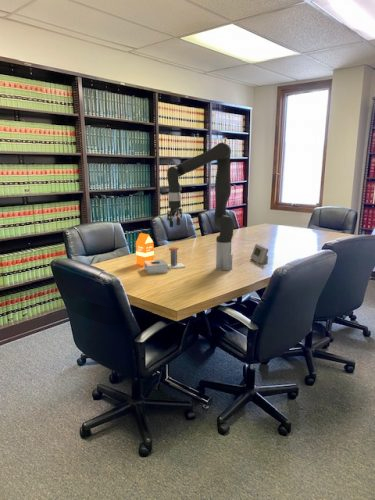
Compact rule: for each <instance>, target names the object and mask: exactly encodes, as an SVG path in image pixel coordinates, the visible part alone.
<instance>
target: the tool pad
mask: <svg viewBox="0 0 375 500" xmlns="http://www.w3.org/2000/svg"><path fill="white" fill-rule="evenodd" d="M167 264H168V269H169V270H173V269H181V268H183V269H184V268H186V265H184V264H183V263H182V262H179V263H178V262H177V265H176V266H171V263H167Z"/></svg>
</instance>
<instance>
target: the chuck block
mask: <svg viewBox="0 0 375 500" xmlns="http://www.w3.org/2000/svg"><path fill="white" fill-rule="evenodd" d="M168 264H169V263H167V262H166V261H165V260H164V259H156V260H155V259H154V260H152V261H144V266H143V267H144V268H143V269H144V270H145V272H146V274H147V275H154V274H155V275H156V274H165V273H166V274H167V273H168V272H169V270H168V269H169V268H168Z"/></svg>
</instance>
